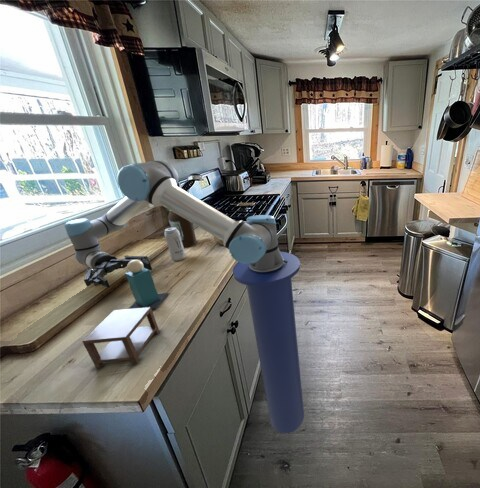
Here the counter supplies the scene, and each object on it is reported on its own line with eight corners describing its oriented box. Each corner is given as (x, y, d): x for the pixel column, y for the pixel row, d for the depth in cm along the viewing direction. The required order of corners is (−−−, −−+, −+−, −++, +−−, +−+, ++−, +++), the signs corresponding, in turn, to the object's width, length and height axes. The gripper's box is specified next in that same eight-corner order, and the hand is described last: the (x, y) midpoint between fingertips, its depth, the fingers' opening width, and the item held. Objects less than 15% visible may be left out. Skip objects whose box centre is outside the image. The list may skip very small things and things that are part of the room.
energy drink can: (180, 261, 121) (171, 231, 115) (169, 260, 122) (160, 231, 116) (188, 256, 126) (181, 227, 120) (178, 255, 127) (169, 226, 121)
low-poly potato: (227, 249, 133) (243, 234, 137) (211, 234, 128) (228, 218, 133) (219, 248, 144) (234, 234, 149) (204, 234, 140) (220, 220, 144)
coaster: (167, 294, 96) (167, 292, 96) (155, 309, 88) (155, 308, 87) (142, 296, 95) (141, 295, 95) (127, 311, 87) (127, 310, 87)
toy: (151, 295, 94) (137, 255, 88) (159, 299, 92) (145, 258, 85) (136, 303, 90) (120, 262, 84) (144, 307, 88) (128, 265, 81)
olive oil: (187, 239, 146) (176, 195, 136) (202, 241, 143) (191, 196, 133) (171, 246, 137) (158, 200, 127) (186, 249, 134) (173, 201, 124)
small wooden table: (159, 331, 78) (150, 306, 74) (137, 363, 67) (125, 337, 63) (124, 334, 77) (113, 310, 73) (96, 368, 66) (81, 341, 62)
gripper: (139, 258, 112) (167, 268, 102) (65, 285, 93) (91, 302, 83) (134, 242, 109) (162, 251, 99) (56, 267, 90) (81, 282, 80)
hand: (130, 274), depth 91 cm, fingers open, 13 cm apart
